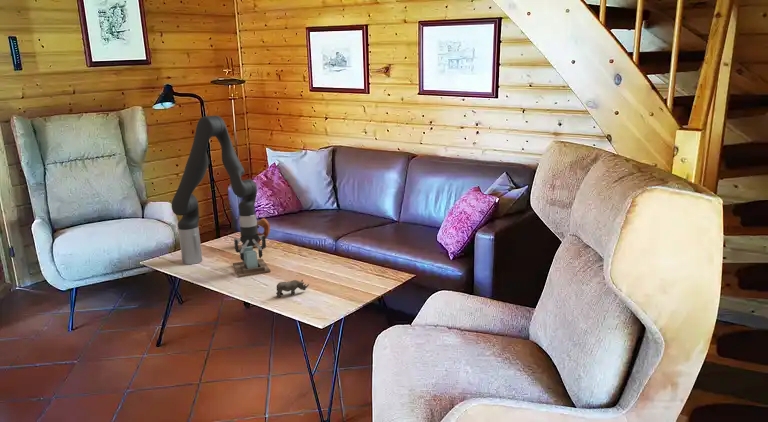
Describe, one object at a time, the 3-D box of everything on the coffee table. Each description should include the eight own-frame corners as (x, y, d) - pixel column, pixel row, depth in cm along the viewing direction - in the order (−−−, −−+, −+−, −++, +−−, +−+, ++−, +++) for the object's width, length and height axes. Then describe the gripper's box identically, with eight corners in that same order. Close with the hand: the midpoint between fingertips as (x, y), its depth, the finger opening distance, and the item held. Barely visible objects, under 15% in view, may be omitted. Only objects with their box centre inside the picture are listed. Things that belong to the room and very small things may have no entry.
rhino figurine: (310, 293, 234) (309, 279, 233) (276, 298, 230) (275, 284, 229) (308, 289, 238) (307, 276, 237) (275, 294, 234) (274, 281, 232)
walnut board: (232, 265, 270) (231, 247, 268) (262, 260, 276) (260, 242, 273) (239, 277, 254) (237, 258, 252) (270, 272, 260) (268, 253, 257)
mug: (241, 248, 295) (238, 220, 291) (247, 243, 302) (244, 216, 299) (268, 249, 292) (265, 221, 288) (273, 244, 300) (271, 216, 296)
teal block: (246, 268, 263) (245, 251, 261) (256, 266, 264) (254, 250, 262) (248, 271, 259) (246, 254, 257) (258, 269, 260) (256, 253, 258)
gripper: (262, 220, 262) (265, 254, 266) (230, 224, 257) (234, 259, 261) (266, 224, 256) (269, 258, 260) (233, 228, 250) (237, 264, 254)
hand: (251, 258), depth 260 cm, fingers open, 7 cm apart
